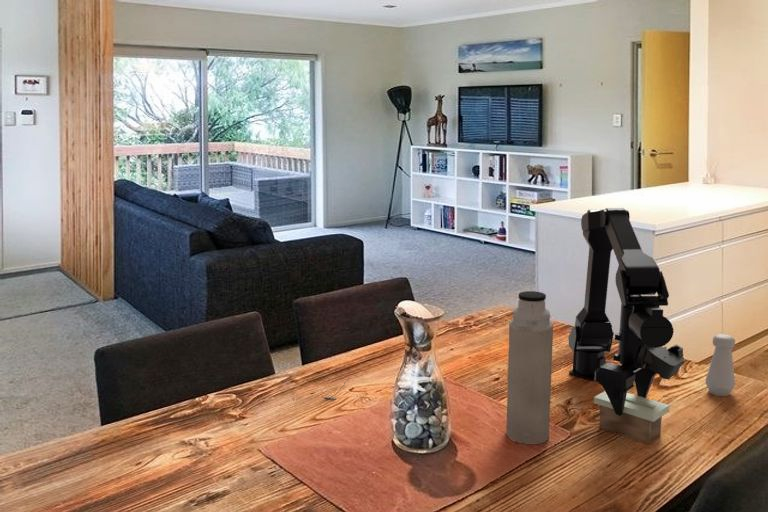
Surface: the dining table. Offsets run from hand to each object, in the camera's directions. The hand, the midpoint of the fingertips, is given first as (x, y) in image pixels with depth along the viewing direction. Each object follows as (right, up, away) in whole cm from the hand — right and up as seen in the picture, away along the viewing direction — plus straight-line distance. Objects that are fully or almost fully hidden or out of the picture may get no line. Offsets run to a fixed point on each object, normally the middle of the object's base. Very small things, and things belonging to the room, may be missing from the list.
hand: (630, 407), depth 133 cm
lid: (0, 0, 0) cm, 0 cm away
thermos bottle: (-20, -5, 0) cm, 20 cm away
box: (0, -5, +1) cm, 5 cm away
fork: (-58, -1, +23) cm, 62 cm away
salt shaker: (+26, -1, +18) cm, 32 cm away
